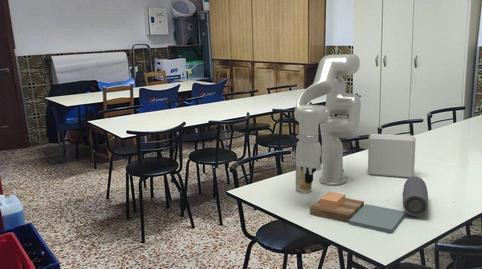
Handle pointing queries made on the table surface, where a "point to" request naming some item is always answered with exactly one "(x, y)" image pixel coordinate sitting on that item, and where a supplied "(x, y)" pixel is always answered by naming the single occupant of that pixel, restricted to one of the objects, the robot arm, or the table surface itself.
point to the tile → (332, 200)
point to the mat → (377, 218)
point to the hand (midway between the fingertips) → (309, 182)
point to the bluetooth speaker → (415, 196)
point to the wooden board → (338, 210)
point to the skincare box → (302, 182)
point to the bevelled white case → (391, 155)
